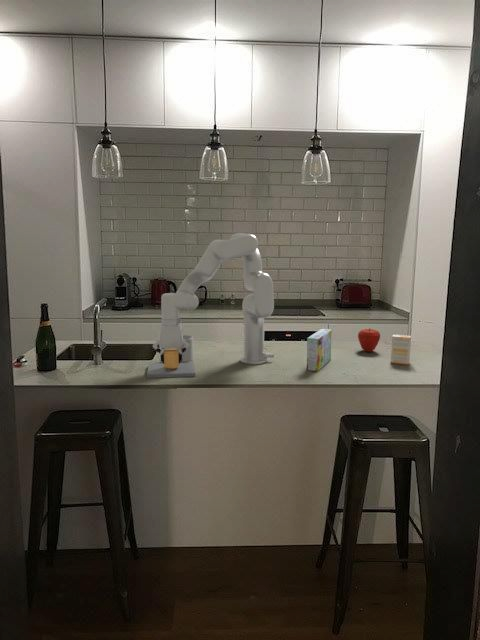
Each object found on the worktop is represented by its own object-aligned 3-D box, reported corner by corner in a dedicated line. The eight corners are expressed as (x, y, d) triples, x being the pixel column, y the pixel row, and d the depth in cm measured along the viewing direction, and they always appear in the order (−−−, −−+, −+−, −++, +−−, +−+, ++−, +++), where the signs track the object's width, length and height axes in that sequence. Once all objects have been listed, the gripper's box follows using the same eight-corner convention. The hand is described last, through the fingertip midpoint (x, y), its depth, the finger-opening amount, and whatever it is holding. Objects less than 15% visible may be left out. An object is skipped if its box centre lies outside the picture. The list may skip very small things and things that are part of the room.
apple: (358, 347, 261) (360, 325, 259) (380, 349, 257) (381, 326, 255) (355, 352, 251) (357, 329, 249) (377, 354, 247) (379, 331, 245)
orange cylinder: (178, 363, 220) (178, 348, 219) (179, 367, 214) (178, 352, 212) (164, 364, 219) (163, 348, 218) (163, 368, 213) (163, 352, 212)
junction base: (194, 365, 226) (193, 351, 225) (195, 376, 210) (195, 361, 209) (149, 366, 224) (148, 352, 222) (147, 377, 208) (146, 362, 207)
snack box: (319, 358, 239) (321, 328, 237) (331, 360, 237) (332, 329, 234) (305, 370, 221) (306, 337, 218) (317, 372, 218) (319, 338, 215)
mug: (192, 362, 231) (192, 339, 229) (174, 362, 231) (174, 339, 229) (194, 355, 243) (194, 333, 241) (177, 355, 243) (176, 333, 241)
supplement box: (409, 362, 234) (411, 335, 232) (408, 365, 230) (410, 337, 227) (391, 360, 237) (393, 333, 235) (390, 363, 233) (391, 335, 231)
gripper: (190, 320, 217) (191, 359, 221) (150, 320, 215) (151, 360, 219) (191, 323, 210) (191, 364, 214) (149, 324, 208) (150, 365, 211)
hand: (171, 362), depth 216 cm, fingers closed on orange cylinder, 6 cm apart
